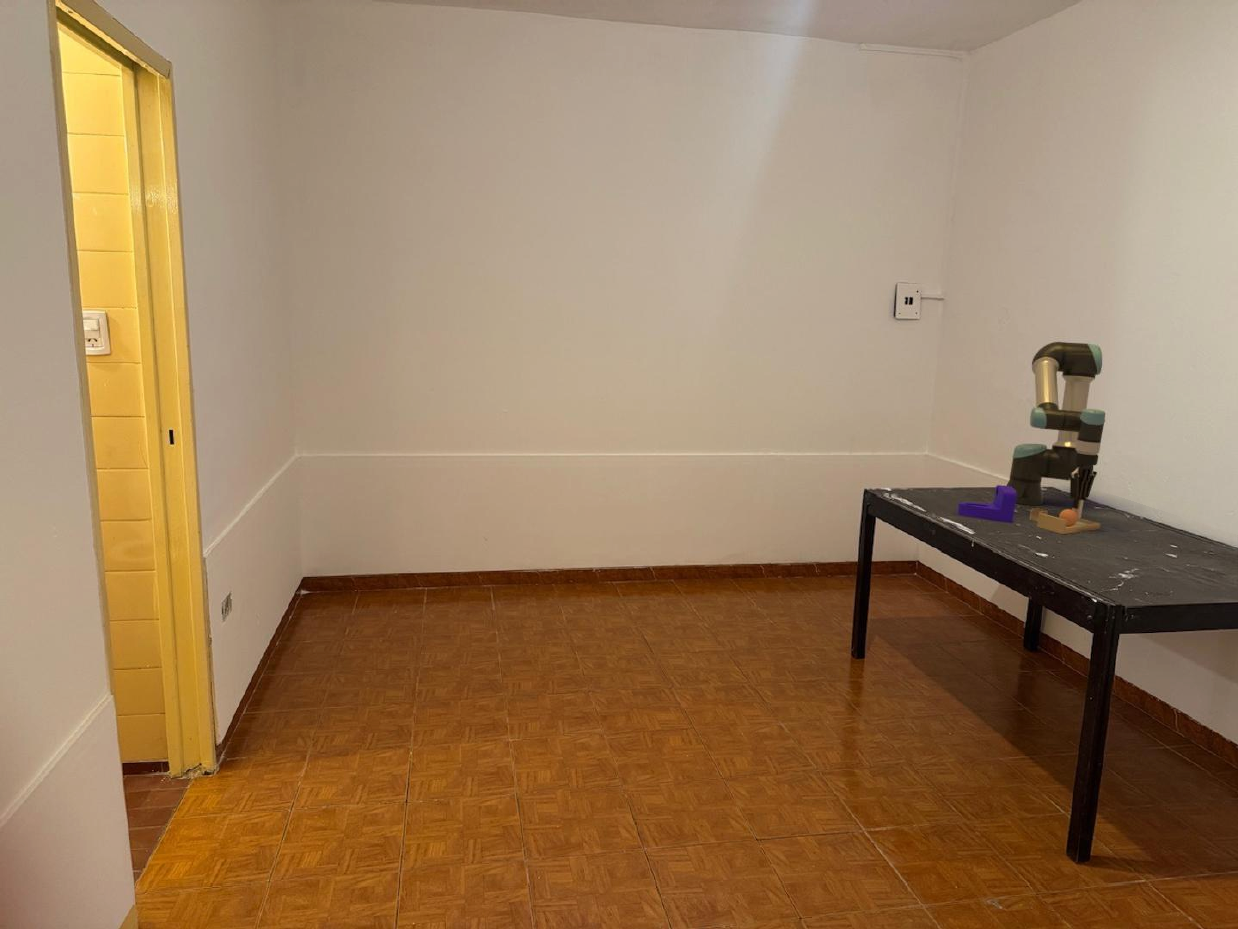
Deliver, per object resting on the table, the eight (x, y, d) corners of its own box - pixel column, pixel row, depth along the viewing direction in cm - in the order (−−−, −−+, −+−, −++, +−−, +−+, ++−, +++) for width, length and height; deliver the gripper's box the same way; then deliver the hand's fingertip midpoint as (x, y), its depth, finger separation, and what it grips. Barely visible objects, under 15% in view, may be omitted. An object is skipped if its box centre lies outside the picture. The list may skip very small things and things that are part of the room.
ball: (1064, 504, 311) (1054, 513, 309) (1080, 508, 306) (1070, 518, 304) (1066, 516, 314) (1057, 526, 312) (1082, 521, 309) (1072, 531, 307)
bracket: (1004, 515, 324) (1009, 485, 322) (1012, 523, 314) (1017, 491, 311) (954, 510, 327) (958, 480, 325) (960, 517, 317) (964, 486, 314)
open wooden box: (1036, 518, 322) (1037, 508, 321) (1046, 521, 319) (1047, 510, 318) (1029, 519, 320) (1031, 509, 319) (1039, 522, 317) (1040, 511, 316)
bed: (1073, 522, 320) (1075, 508, 319) (1099, 529, 312) (1101, 515, 311) (1036, 526, 310) (1039, 513, 309) (1062, 534, 301) (1065, 520, 300)
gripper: (1087, 450, 313) (1076, 513, 318) (1065, 451, 307) (1055, 515, 312) (1107, 454, 307) (1096, 518, 312) (1085, 455, 301) (1074, 521, 305)
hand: (1075, 517), depth 312 cm, fingers closed
